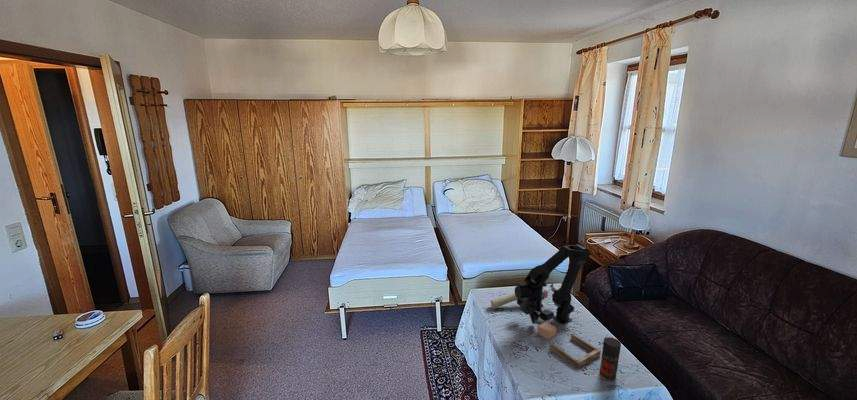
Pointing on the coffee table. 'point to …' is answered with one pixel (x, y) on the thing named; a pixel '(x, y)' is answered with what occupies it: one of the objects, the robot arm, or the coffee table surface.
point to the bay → (582, 361)
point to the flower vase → (514, 298)
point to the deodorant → (610, 358)
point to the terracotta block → (546, 330)
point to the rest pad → (540, 321)
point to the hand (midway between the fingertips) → (533, 323)
